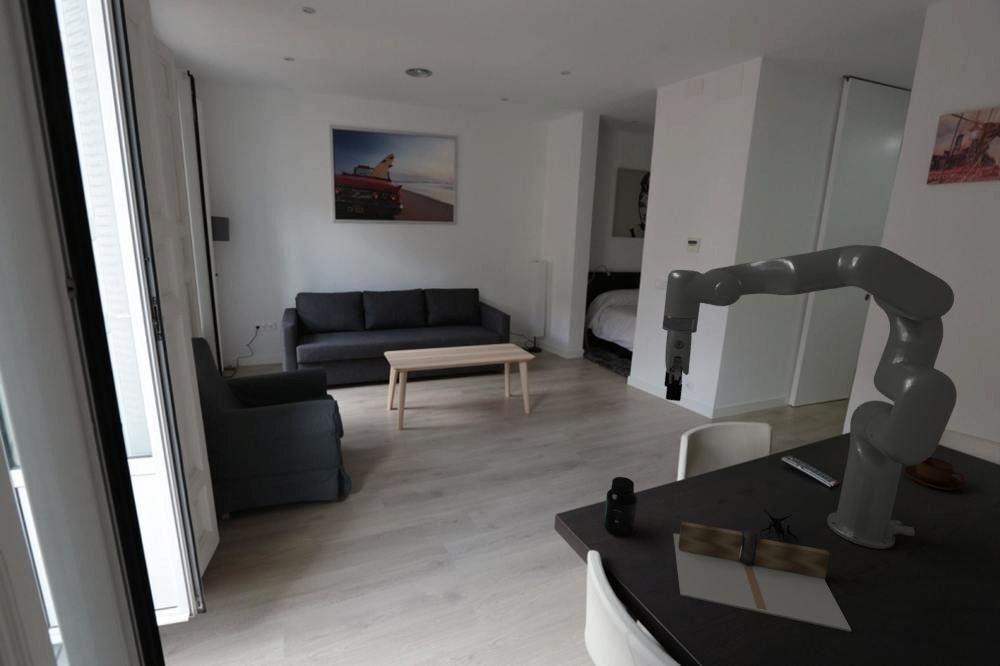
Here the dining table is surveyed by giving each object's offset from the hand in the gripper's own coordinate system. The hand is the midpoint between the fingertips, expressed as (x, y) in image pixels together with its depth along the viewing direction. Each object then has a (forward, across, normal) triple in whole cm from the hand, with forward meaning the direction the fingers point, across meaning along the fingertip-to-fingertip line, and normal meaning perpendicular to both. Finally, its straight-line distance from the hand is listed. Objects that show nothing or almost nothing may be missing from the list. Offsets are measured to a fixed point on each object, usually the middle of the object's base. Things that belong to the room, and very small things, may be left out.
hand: (671, 393), depth 113 cm
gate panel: (+29, -18, -9) cm, 35 cm away
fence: (+29, -18, -23) cm, 41 cm away
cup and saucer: (+29, +36, -74) cm, 87 cm away
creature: (+30, -6, -26) cm, 40 cm away
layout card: (+29, -22, -17) cm, 40 cm away
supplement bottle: (+30, -14, +9) cm, 34 cm away
